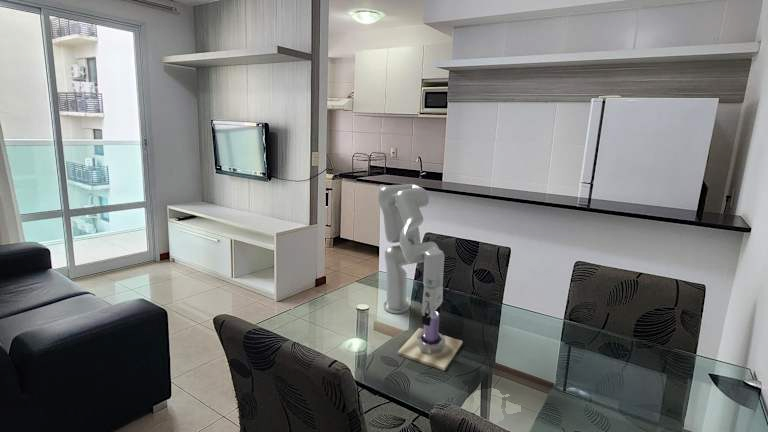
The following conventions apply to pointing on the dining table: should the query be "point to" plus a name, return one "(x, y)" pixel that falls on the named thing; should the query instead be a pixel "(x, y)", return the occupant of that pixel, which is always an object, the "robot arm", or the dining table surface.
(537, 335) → the dining table surface
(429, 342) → the beverage can
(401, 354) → the rosette socket
